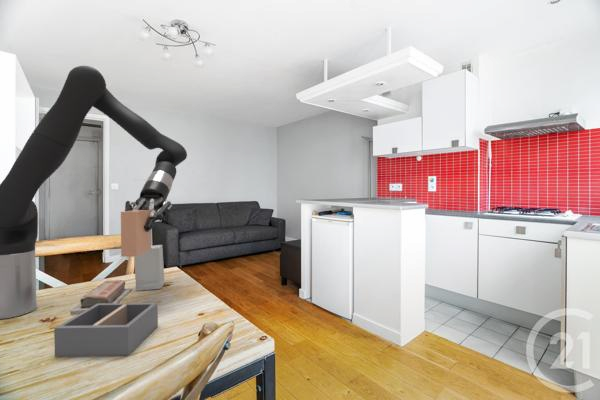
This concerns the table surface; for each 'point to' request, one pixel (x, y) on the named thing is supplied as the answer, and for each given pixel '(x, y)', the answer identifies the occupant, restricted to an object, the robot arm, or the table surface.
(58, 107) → the robot arm
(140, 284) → the skincare box
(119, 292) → the packaged product
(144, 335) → the grey open tray
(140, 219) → the salmon rectangular block
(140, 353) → the table surface
